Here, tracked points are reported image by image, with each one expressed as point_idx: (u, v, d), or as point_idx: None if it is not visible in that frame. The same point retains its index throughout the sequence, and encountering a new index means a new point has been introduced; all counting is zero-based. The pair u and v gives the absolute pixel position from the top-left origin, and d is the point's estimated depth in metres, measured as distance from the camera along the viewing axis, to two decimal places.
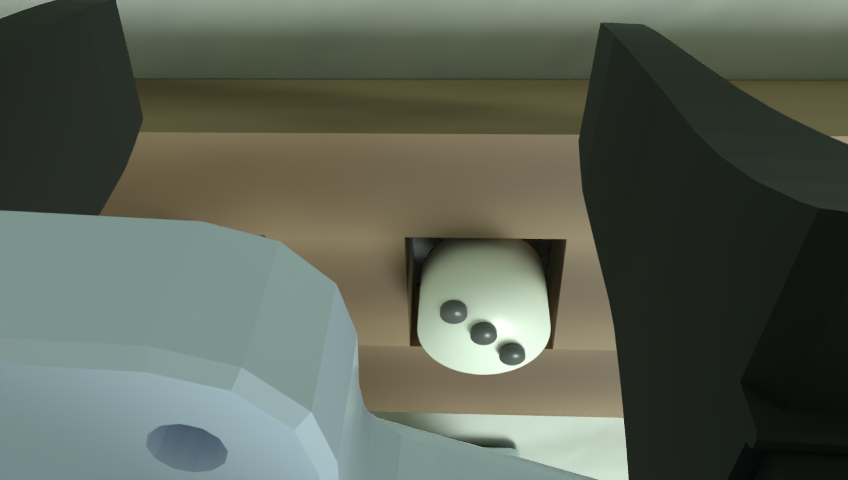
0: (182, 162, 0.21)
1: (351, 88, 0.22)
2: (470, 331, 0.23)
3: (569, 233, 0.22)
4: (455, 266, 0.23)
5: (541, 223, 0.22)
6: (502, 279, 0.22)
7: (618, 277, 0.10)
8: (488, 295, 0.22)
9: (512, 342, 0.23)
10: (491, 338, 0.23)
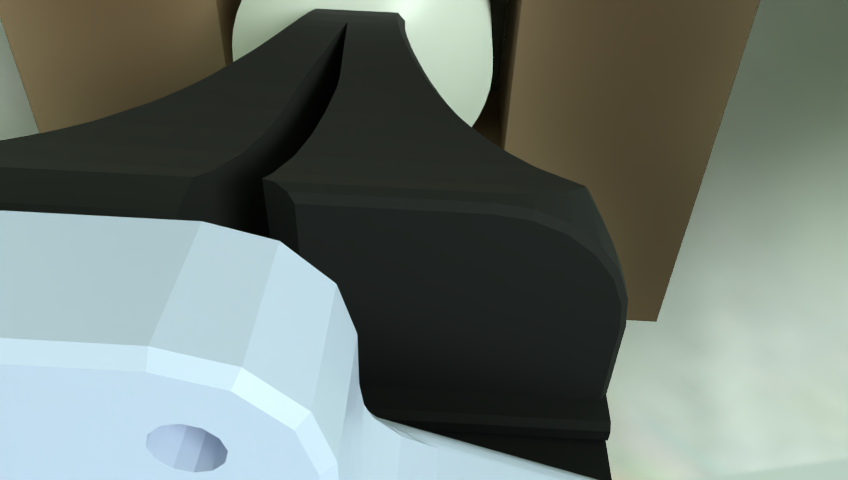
0: None
1: None
2: None
3: None
4: None
5: None
6: None
7: None
8: None
9: None
10: None
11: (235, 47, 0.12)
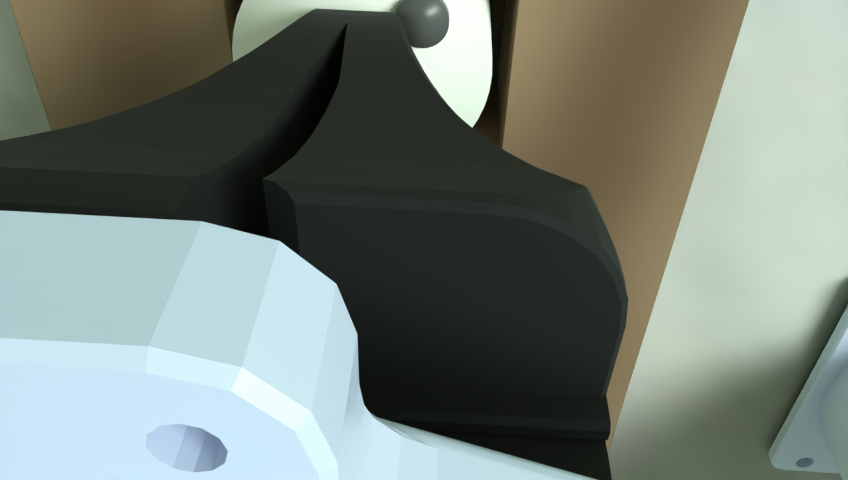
0: None
1: None
2: None
3: None
4: None
5: None
6: None
7: None
8: None
9: None
10: None
11: None
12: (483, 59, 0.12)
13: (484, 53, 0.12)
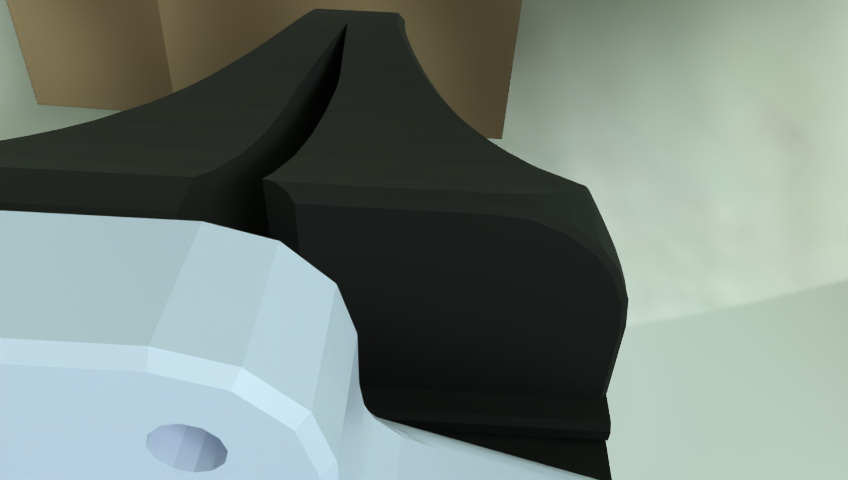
0: None
1: None
2: None
3: None
4: None
5: None
6: None
7: None
8: None
9: None
10: None
11: None
12: None
13: None
